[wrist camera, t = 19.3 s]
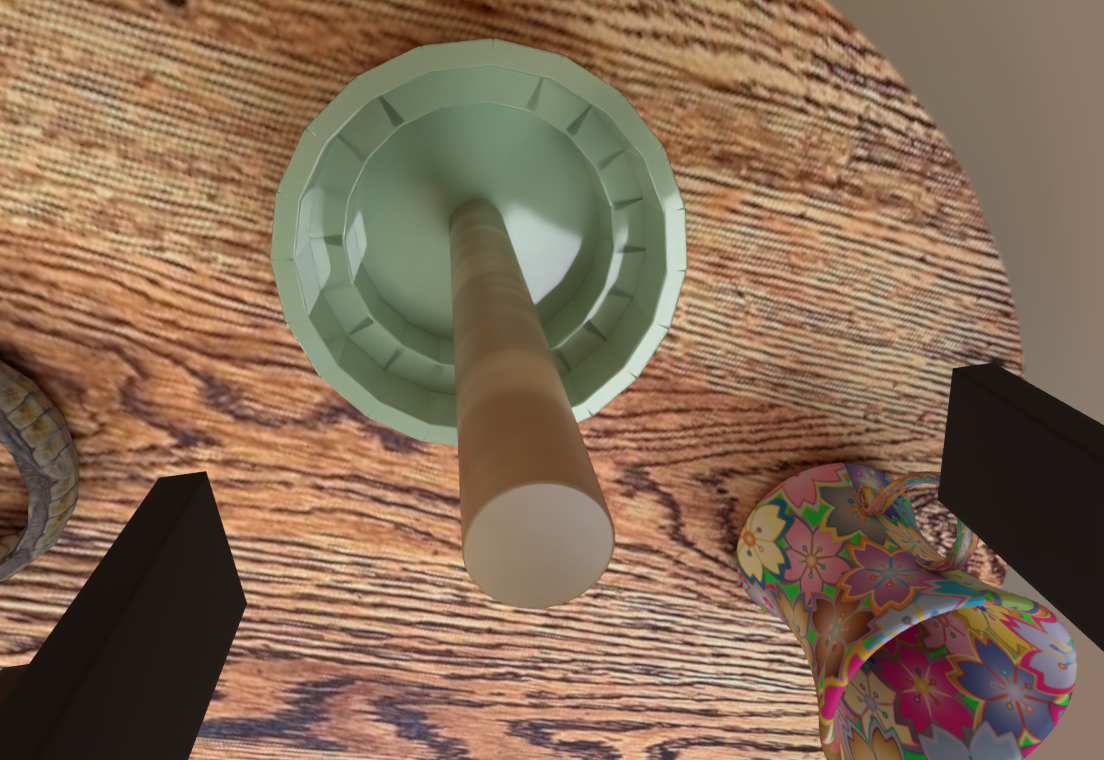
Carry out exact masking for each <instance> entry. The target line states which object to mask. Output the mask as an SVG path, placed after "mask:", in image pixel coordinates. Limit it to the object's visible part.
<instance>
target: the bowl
mask: <svg viewBox="0 0 1104 760" xmlns="http://www.w3.org/2000/svg"><path fill="white" fill-rule="evenodd" d="M474 199H479V200H484V201H487V202H489V203H491V204H492V205H494V206H495V207H496V208H497V209H498V210H499V212H500V213H501V215H502V217H503V220H504V223H505V226H506V228H507V231H508V234H509V237H510V239H511V242H512V245H513V248H514V251H515V253H516V256H517V259H518V262H519V264H520V267H521V270H522V273H523V275H524V278H525V281H526V284H527V286H528V289H529V292H530V295H531V297H532V300H533V303H534V306H535V308H536V311H537V314H538V317H539V320H540V322H541V325H542V328H543V331H544V333H545V336H546V339H547V342H548V344H549V347H550V350H551V353H552V355H553V358H554V361H555V364H556V366H557V369H558V372H559V375H560V377H561V380H562V383H563V386H564V388H565V391H566V394H567V397H568V400H569V402H570V405H571V408H572V411H573V413H574V416H575V419H576V422H577V423H579V422H582V421H584V420H586V419H588V418H591V417H592V415H593V416H594V415H595V414H596V413H598V412H599V411H600V410H601V409H602V408H604V407H605V406H606V405H607V404H608V403H609V402H611V401H612V400H613V399H614V398H615V397H616V396H618V395H619V394H620V393H621V392H622V391H624V390H625V389H626V388H627V387H628V386H629V385H631V384H632V383H633V382H634V381H635V380H636V379H637V377H639V376H640V374H641V372H642V371H643V369H644V368H645V366H646V365H647V363H648V362H649V360H650V359H651V357H652V356H653V354H654V352H655V351H656V349H657V348H658V346H659V345H660V343H661V342H662V340H663V339H664V337H665V336H666V334H667V333H668V331H669V328H670V327H671V324H672V320H673V317H674V313H675V310H676V306H677V303H678V299H679V296H680V293H681V289H682V286H683V282H684V279H685V275H686V270H687V238H686V209H685V208H684V207H685V204H684V202H683V199H682V196H681V193H680V190H679V187H678V185H677V182H676V179H675V176H674V173H673V171H672V168H671V165H670V162H669V159H668V157H667V154H666V151H665V148H664V147H662V143H661V142H660V141H659V139H658V138H657V137H656V136H655V134H654V133H653V132H652V131H651V129H650V128H649V127H648V125H647V124H646V123H645V122H644V120H643V119H642V118H641V117H640V115H639V114H638V113H637V111H636V110H635V109H634V108H633V106H632V105H631V104H630V103H629V101H628V100H627V99H626V97H625V96H624V95H622V94H621V92H620V91H618V90H617V89H615V88H614V87H612V86H611V85H609V84H608V83H606V82H604V81H603V80H601V79H600V78H598V77H597V76H595V75H594V74H592V73H591V72H589V71H587V70H586V69H584V68H583V67H581V66H580V65H578V64H577V63H575V62H574V61H572V60H570V59H569V58H567V57H566V56H562V55H561V54H558V53H554V52H549V51H545V50H541V49H537V48H533V47H529V46H525V45H521V44H517V43H512V42H508V41H504V40H500V39H491V38H487V39H477V40H468V41H458V42H448V43H439V44H429V45H423V46H418V47H416V48H414V49H412V50H410V51H408V52H406V53H404V54H402V55H399V56H397V57H395V58H393V59H391V60H389V61H387V62H385V63H383V64H381V65H379V66H377V67H375V68H372V69H370V70H368V71H366V72H364V73H362V74H360V75H358V76H357V77H356V78H354V79H353V80H352V81H351V82H350V83H349V84H348V85H347V86H346V87H345V88H344V89H343V90H342V91H341V92H340V93H339V94H338V95H337V96H336V97H335V98H334V99H333V100H332V101H331V102H330V103H329V104H328V105H327V106H326V107H325V108H324V109H323V110H322V111H321V112H320V113H319V114H318V115H317V116H316V117H315V118H314V119H313V120H312V121H311V122H310V123H309V124H308V125H307V128H306V129H305V130H304V131H303V134H302V136H301V138H300V140H299V142H298V144H297V147H296V149H295V151H294V153H293V155H292V158H291V160H290V162H289V164H288V166H287V168H286V171H285V173H284V175H283V177H282V179H281V182H280V184H279V186H278V188H277V192H276V197H275V208H274V219H273V230H272V242H271V253H270V258H271V260H270V261H271V265H272V269H273V273H274V277H275V281H276V285H277V289H278V294H279V298H280V302H281V306H282V310H283V314H284V318H285V321H286V322H287V325H288V327H289V329H290V330H291V332H292V333H293V335H294V337H295V338H296V340H297V341H298V343H299V345H300V346H301V348H302V349H303V351H304V352H305V354H306V356H307V357H308V359H309V360H310V362H311V364H312V365H313V367H314V368H315V370H316V372H317V373H318V375H319V376H320V377H321V378H322V379H323V380H324V381H325V382H327V383H328V384H329V385H330V386H331V387H332V388H334V389H335V390H336V391H337V392H338V393H340V394H341V395H342V396H343V397H344V398H345V399H347V400H348V401H349V402H350V403H351V404H352V405H354V406H355V407H356V408H357V409H358V410H359V411H361V412H362V413H363V414H364V415H365V416H367V417H368V418H370V419H372V420H375V421H377V422H379V423H381V424H384V425H386V426H388V427H390V428H393V429H395V430H397V431H400V432H402V433H404V434H406V435H409V436H411V437H413V438H415V439H418V440H420V441H422V440H423V441H424V442H432V443H439V444H446V445H454V446H458V434H457V410H456V385H455V361H454V336H453V311H452V287H451V262H450V238H449V222H450V218H451V215H452V213H453V212H454V210H455V209H456V208H457V207H458V206H459V205H460V204H462V203H464V202H466V201H469V200H474Z"/></svg>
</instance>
